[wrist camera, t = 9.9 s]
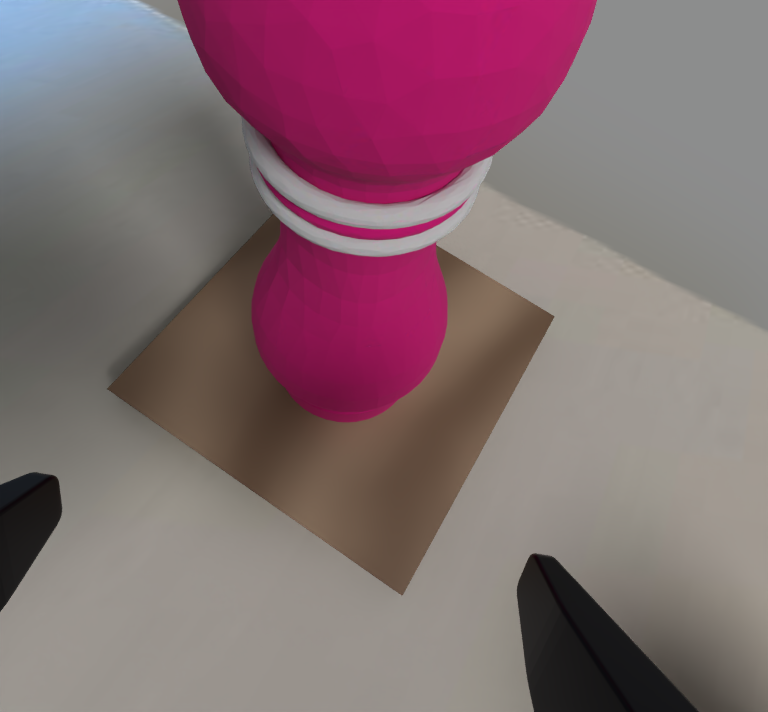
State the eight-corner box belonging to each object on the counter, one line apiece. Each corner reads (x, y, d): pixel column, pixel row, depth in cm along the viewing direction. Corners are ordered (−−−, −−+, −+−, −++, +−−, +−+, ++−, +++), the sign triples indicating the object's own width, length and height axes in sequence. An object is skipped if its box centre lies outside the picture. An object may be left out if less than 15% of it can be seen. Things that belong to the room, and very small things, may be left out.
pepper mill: (358, 468, 20) (841, -535, 1) (232, 366, 21) (-579, -1064, 2) (451, 348, 22) (1074, -573, 4) (336, 262, 23) (371, -809, 5)
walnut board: (544, 326, 25) (554, 316, 24) (397, 591, 19) (402, 595, 18) (314, 186, 26) (313, 171, 25) (118, 396, 21) (107, 388, 20)
